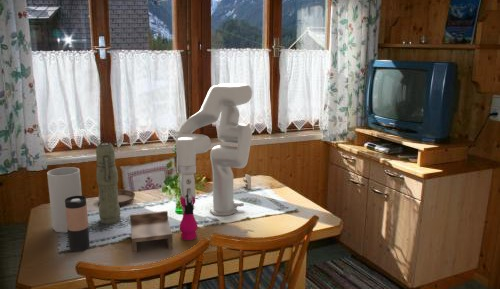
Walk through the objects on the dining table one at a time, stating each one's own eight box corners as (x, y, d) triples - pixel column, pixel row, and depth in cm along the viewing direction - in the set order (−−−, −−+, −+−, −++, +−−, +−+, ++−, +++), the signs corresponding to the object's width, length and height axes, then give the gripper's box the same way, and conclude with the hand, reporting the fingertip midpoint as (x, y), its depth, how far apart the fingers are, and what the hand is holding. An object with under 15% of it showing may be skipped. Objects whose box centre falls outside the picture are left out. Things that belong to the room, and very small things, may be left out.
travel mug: (72, 243, 176) (68, 195, 172) (92, 243, 177) (88, 195, 172) (66, 252, 169) (61, 202, 164) (87, 251, 170) (83, 202, 165)
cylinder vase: (53, 224, 195) (47, 169, 189) (83, 219, 200) (78, 165, 194) (53, 235, 184) (46, 177, 178) (85, 230, 189) (80, 173, 183)
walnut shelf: (168, 230, 188) (167, 210, 186) (172, 248, 173) (172, 226, 170) (131, 235, 184) (130, 214, 182) (132, 253, 168) (131, 231, 166)
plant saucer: (136, 205, 218) (135, 199, 217) (98, 209, 213) (97, 203, 212) (134, 193, 234) (134, 188, 234) (99, 197, 229) (98, 191, 229)
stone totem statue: (118, 214, 206) (112, 140, 198) (123, 223, 196) (118, 145, 188) (98, 217, 202) (91, 142, 194) (102, 226, 192) (96, 147, 184)
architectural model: (245, 190, 240) (245, 177, 239) (239, 187, 246) (239, 174, 245) (251, 189, 242) (251, 176, 240) (245, 186, 248) (245, 173, 246)
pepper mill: (194, 241, 178) (193, 194, 174) (177, 240, 180) (175, 192, 175) (200, 234, 185) (198, 188, 181) (183, 232, 187) (181, 187, 182)
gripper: (199, 173, 169) (200, 216, 172) (192, 162, 185) (193, 202, 188) (179, 175, 167) (180, 218, 170) (174, 163, 183) (175, 203, 186)
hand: (187, 209), depth 179 cm, fingers open, 9 cm apart
